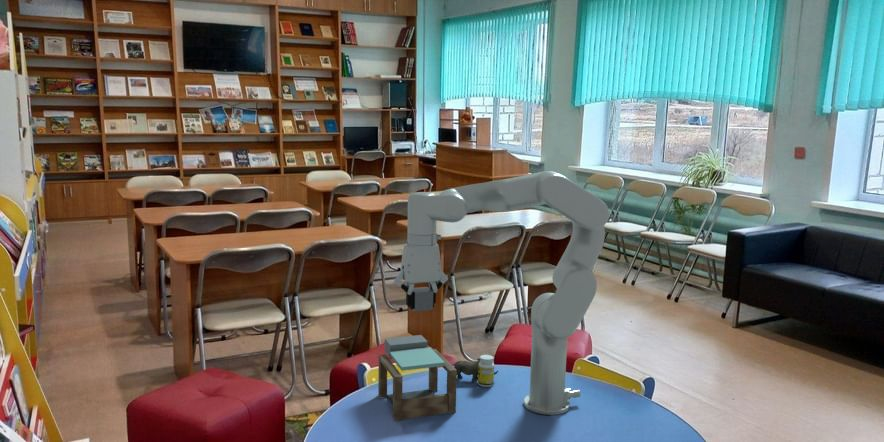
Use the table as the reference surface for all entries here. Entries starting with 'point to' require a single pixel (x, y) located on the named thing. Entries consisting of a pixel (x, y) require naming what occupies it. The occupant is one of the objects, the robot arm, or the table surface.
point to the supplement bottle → (486, 371)
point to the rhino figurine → (468, 369)
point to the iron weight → (423, 299)
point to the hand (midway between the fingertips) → (420, 306)
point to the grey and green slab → (412, 353)
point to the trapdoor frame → (417, 392)
